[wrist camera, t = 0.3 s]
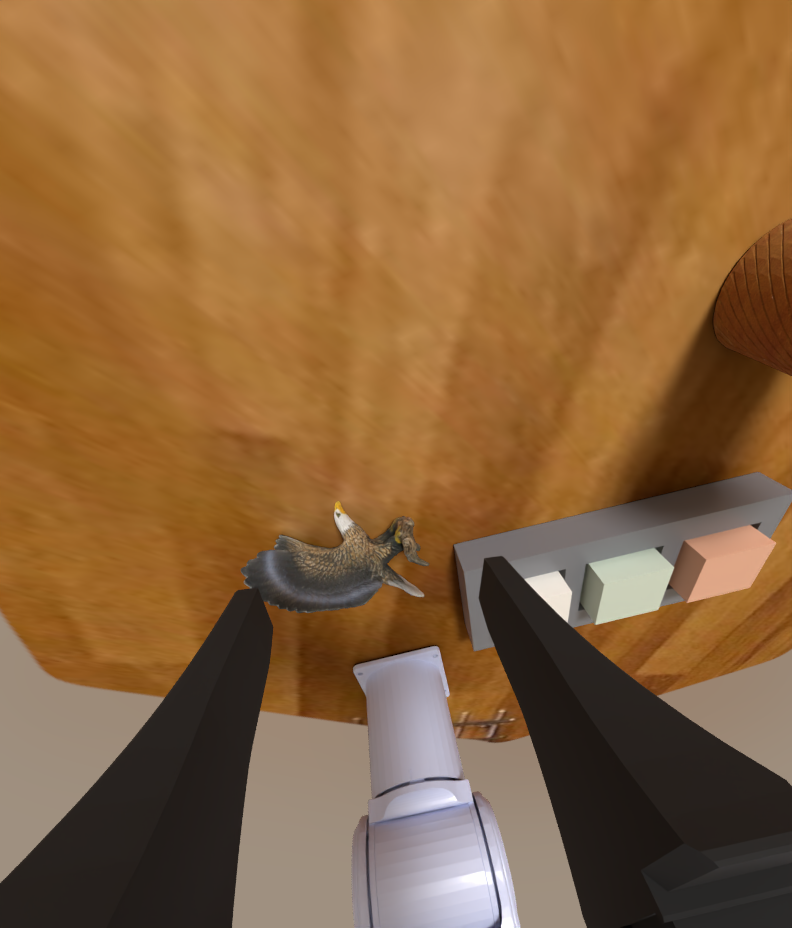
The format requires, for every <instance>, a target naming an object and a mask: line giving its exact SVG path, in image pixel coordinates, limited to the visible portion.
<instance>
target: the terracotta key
mask: <svg viewBox="0 0 792 928" xmlns="http://www.w3.org/2000/svg"><path fill="white" fill-rule="evenodd" d="M775 544H776V543H775V542H774V541H773V540H771V539H770V538H768V537H767V536H765V535H764V534H762V533H761V532H760V531H758V530H757V529H755V528H754V527H752V526H751V525H748V526H743V527H739V528H735V529H731V530H727V531H723V532H718V533H714V534H710V535H706V536H702V537H698V538H693V539H689V540H685V541H683V544H682V546H681V549H680V552H679V554H678V557H677V559H676V562H675V565H674V570H673V572H672V575H671V578H670V580H669V583H668V584H669V585H670V586H671V587H672V588H673V589H674V590H675V591H676V592H677V593H678V594H679V595H680V596H681V597H682V598H683V599H684V600H685V601H686V602H687V603H688V602H692V601H697V600H701V599H705V598H709V597H713V596H717V595H721V594H726V593H730V592H734V591H738V590H742V589H746V588H750V586H751V585H752V583H753V581H754V580H755V578H756V576H757V575H758V573H759V571H760V570H761V568H762V566H763V565H764V563H765V561H766V559H767V558H768V556H769V554H770V553H771V551H772V549H773V548H774V546H775Z"/></svg>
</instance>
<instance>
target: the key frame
mask: <svg viewBox="0 0 792 928" xmlns="http://www.w3.org/2000/svg"><path fill="white" fill-rule="evenodd" d="M791 502H792V490H790V489H789V488H787V487H785V486H783V485H781V484H780V483H778V482H776V481H774V480H772V479H770V478H769V477H767V476H765V475H763V474H761V473H759V472H756V473H752V474H748V475H744V476H739V477H735V478H731V479H727V480H723V481H718V482H714V483H710V484H706V485H702V486H697V487H693V488H689V489H685V490H681V491H677V492H672V493H668V494H664V495H660V496H656V497H651V498H647V499H643V500H639V501H635V502H630V503H626V504H622V505H618V506H614V507H609V508H605V509H601V510H597V511H593V512H588V513H584V514H580V515H576V516H572V517H567V518H563V519H559V520H555V521H551V522H547V523H542V524H538V525H534V526H530V527H526V528H521V529H517V530H513V531H509V532H505V533H500V534H496V535H492V536H488V537H484V538H479V539H475V540H471V541H467V542H463V543H458V544H454V550H455V557H456V564H457V571H458V578H459V585H460V592H461V599H462V606H463V613H464V620H465V625H466V628H467V631H468V634H469V637H470V640H471V644H472V647H473V650H474V651H477V650H482V649H486V648H490V647H494V643H493V641H492V638H491V636H490V634H489V631H488V628H487V625H486V622H485V619H484V615H483V612H482V609H481V605H480V602H479V591H480V584H481V577H482V570H483V563H484V558H489V557H497V556H503V557H504V558H505V559H506V560H507V561H508V562H509V563H510V564H511V565H512V566H513V568H514V569H515V570H516V571H517V572H518V573H519V574H520V575H521V576H522V577H523V578H524V579H526V578H530V577H535V576H539V575H543V574H547V573H551V572H556V571H559V573H560V574H561V576H562V577H563V579H564V580H565V582H566V584H567V585H568V587H569V588H570V590H571V591H572V596H571V603H570V610H569V617H568V624H569V625H570V626H571V627H572V628H573V627H577V626H581V625H585V624H590V623H594V622H593V621H592V619H591V618H590V616H589V615H588V613H587V612H586V610H585V609H584V607H583V606H582V604H581V603H580V596H581V590H582V584H583V578H584V572H585V566H586V564H589V563H593V562H597V561H601V560H606V559H610V558H614V557H618V556H622V555H627V554H631V553H635V552H639V551H643V550H647V549H652V548H655V549H656V550H657V551H658V552H659V553H660V554H661V555H662V556H663V557H664V558H665V559H666V560H667V561H668V562H669V563H670V564H671V565H672V566H673V567H674V565H675V562H676V559H677V557H678V554H679V552H680V549H681V546H682V544H683V541H685V540H689V539H693V538H698V537H702V536H706V535H710V534H714V533H718V532H723V531H727V530H731V529H735V528H739V527H743V526H748V525H751V526H752V527H754V528H755V529H757V530H758V531H760V532H761V533H762V534H764V535H765V536H767V537H768V538H771V536H772V534H773V533H774V531H775V529H776V528H777V526H778V524H779V522H780V521H781V519H782V517H783V515H784V514H785V512H786V510H787V508H788V507H789V505H790V503H791ZM681 601H685V600H684V599H683V598H682V597H681V596H680V595H679V594H678V593H677V592H676V591H675V590H674V589H673V588H672V587H671V586H670V585H669V584H668V585H667V588H666V591H665V593H664V596H663V598H662V601H661V604H660V606H664V605H669V604H673V603H677V602H681ZM660 606H659V607H660Z"/></svg>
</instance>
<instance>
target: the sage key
mask: <svg viewBox="0 0 792 928" xmlns="http://www.w3.org/2000/svg"><path fill="white" fill-rule="evenodd" d="M673 570H674V567H673V566H672V565H671V564H670V563H669V562H668V561H667V560H666V559H665V558H664V557H663V556H662V555H661V554H660V553H659V552H658V551H657V550H656V549H655V548H652V549H647V550H643V551H639V552H635V553H631V554H627V555H622V556H618V557H614V558H610V559H606V560H601V561H597V562H593V563H589V564H586V566H585V572H584V578H583V584H582V590H581V596H580V603H581V604H582V606H583V607H584V609H585V610H586V612H587V613H588V615H589V616H590V618H591V619H592V621H593V622H594V624H595V625H597V624H601V623H605V622H609V621H613V620H618V619H622V618H626V617H630V616H634V615H638V614H643V613H647V612H651V611H655V610H658V609H659V606H660V604H661V601H662V598H663V596H664V593H665V591H666V588H667V585H668V583H669V580H670V578H671V575H672V572H673Z"/></svg>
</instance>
